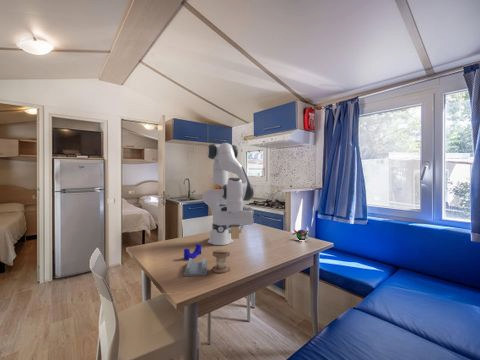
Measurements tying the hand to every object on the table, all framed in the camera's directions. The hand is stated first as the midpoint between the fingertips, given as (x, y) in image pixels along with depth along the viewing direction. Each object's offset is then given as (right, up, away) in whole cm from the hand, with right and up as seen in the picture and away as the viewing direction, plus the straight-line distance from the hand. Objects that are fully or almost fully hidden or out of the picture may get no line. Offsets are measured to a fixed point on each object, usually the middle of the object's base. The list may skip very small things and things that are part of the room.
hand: (234, 233), depth 122 cm
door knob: (-7, -18, -3) cm, 20 cm away
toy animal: (+50, -18, +49) cm, 73 cm away
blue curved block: (-26, -19, +17) cm, 36 cm away
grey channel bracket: (-20, -18, -3) cm, 27 cm away
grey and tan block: (0, -3, 0) cm, 3 cm away
